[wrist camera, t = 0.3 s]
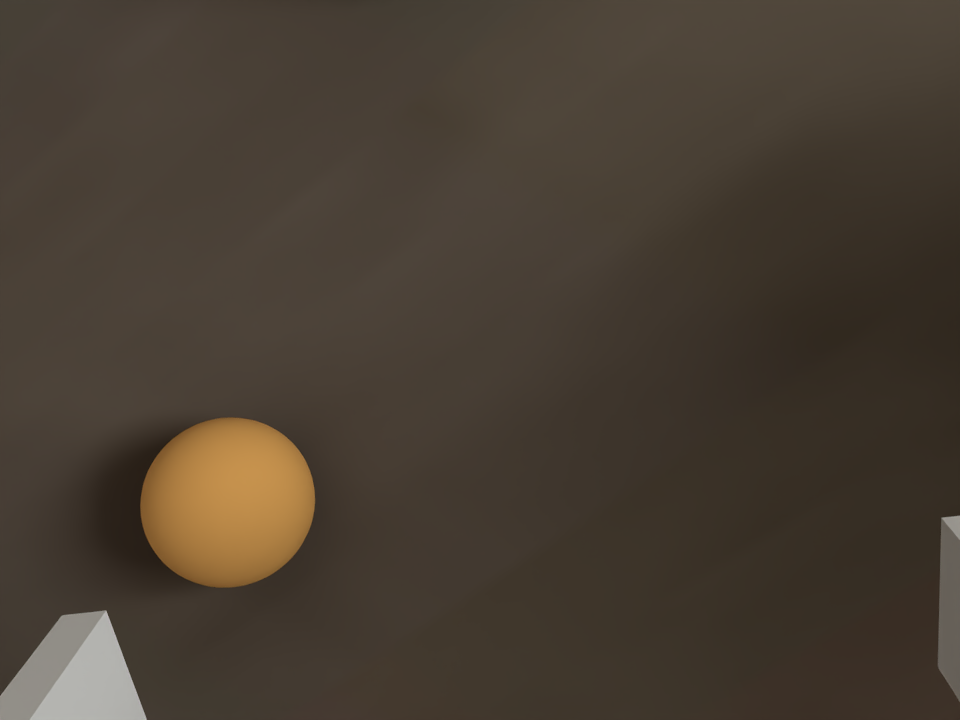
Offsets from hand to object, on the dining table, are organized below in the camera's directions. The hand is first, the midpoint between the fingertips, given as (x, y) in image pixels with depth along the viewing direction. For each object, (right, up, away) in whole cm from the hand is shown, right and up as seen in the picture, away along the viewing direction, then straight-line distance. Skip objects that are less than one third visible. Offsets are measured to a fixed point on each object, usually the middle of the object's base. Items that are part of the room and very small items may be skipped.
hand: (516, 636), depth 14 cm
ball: (-9, 0, +15) cm, 18 cm away
